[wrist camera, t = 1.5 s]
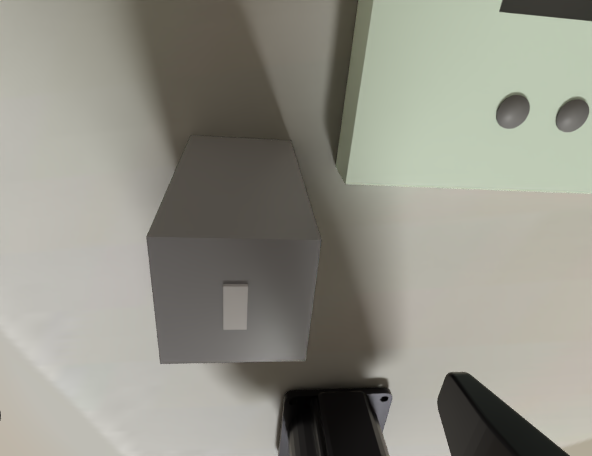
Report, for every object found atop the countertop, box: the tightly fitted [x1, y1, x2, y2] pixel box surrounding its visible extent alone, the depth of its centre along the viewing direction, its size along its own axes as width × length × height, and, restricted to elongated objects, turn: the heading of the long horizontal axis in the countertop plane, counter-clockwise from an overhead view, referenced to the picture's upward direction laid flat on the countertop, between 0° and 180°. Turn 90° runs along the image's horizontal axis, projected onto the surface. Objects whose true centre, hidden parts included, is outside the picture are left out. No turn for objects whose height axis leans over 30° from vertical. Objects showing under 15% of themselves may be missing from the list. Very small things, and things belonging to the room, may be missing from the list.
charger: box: [147, 135, 322, 364], centre depth 14 cm, size 4×4×8 cm
